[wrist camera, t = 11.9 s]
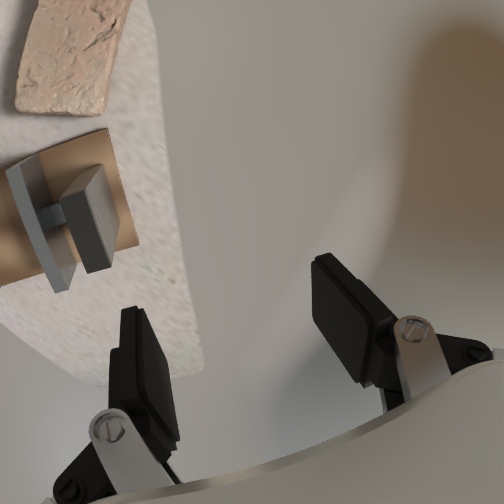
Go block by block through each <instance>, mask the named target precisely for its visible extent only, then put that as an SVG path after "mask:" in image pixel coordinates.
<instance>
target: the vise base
mask: <svg viewBox="0 0 504 504" xmlns="http://www.w3.org/2000/svg"><path fill="white" fill-rule="evenodd" d="M36 154H38V155H39V159H40V162H41V166H42V169H43V172H44V176H45V179H46V182H47V185H48V188H49V191H50V194H51V197H52V200H53V202H55V201H58V199H59V198H60V197H61V196H62V194H63V193H64V192H65V191H66V190H67V188H68V187H69V186H70V185H71V184H72V182H73V181H74V180H75V179H76V178H77V177H78V175H79V174H80V173H81V172H82V171H83V170H85V169H88V168H91V167H94V166H97V165H100V164H103V165H104V169H105V173H106V176H107V180H108V183H109V187H110V190H111V194H112V197H113V200H114V204H115V207H116V210H117V213H118V216H119V220H120V226H119V231H118V235H117V240H116V245H115V250H114V252H116V251H120V250H123V249H127V248H130V247H134V246H137V245H139V239H138V236H137V233H136V230H135V227H134V224H133V220H132V217H131V214H130V210H129V207H128V204H127V200H126V197H125V193H124V190H123V186H122V183H121V179H120V175H119V171H118V168H117V164H116V160H115V156H114V152H113V148H112V144H111V140H110V135H109V131H108V128H105V129H102V130H99V131H96V132H93V133H90V134H87V135H84V136H81V137H78V138H75V139H72V140H70V141H67V142H64V143H61V144H59V145H56V146H54V147H51V148H48V149H46V150H43V151H41V152H38V153H36ZM34 155H35V154H34ZM31 156H33V155H31ZM31 156H29V157H31ZM26 158H28V157H26ZM26 158H24V159H26ZM24 159H22V160H24ZM22 160H20V161H17V162H15V163H13V164H11V165H8V166H6V167H4V168H2V169H0V288H1V286H3V285H7V284H10V283H13V282H16V281H19V280H22V279H25V278H29V277H32V276H35V275H38V274H41V273H45V272H44V270H43V268H42V265H41V263H40V261H39V259H38V257H37V255H36V252H35V250H34V248H33V245H32V243H31V241H30V238H29V236H28V234H27V231H26V229H25V226H24V224H23V221H22V219H21V216H20V213H19V211H18V208H17V205H16V202H15V199H14V197H13V194H12V191H11V188H10V185H9V182H8V178H7V175H6V172H5V171H6V170H8V169H9V168H11V167H13V166H14V165H16V164H17V163H19V162H21V161H22ZM61 225H62V228H63V231H64V233H65V236H66V238H67V241H68V243H69V246H70V248H71V251H72V253H73V255H74V258H75V260H76V262H77V263H78V262H81V261H82V260H81V258H80V255H79V253H78V251H77V248H76V246H75V243H74V241H73V238H72V236H71V233H70V230H69V228H68V225H67V222H66V223H63V224H61Z"/></svg>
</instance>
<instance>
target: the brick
mask: <svg viewBox="0 0 504 504" xmlns="http://www.w3.org/2000/svg"><path fill="white" fill-rule="evenodd" d="M131 1H132V0H39V1H38V7H37V9H36V11H35V12H34V15H33V18H32V21H31V24H30V27H29V30H28V34H27V38H26V42H25V46H24V49H23V53H22V57H21V61H20V66H19V71H18V75H19V77H18V79H17V82H16V96H15V101H14V102H15V108H16V109H17V110H18V111H19V112H21V113H22V114H25V115H37V114H41V115H58V116H62V115H70V116H78V117H97V116H100V115H102V114H103V112H104V110H105V108H106V104H107V99H108V96H109V88H110V82H111V73H112V70H113V65H114V61H115V58H116V55H117V52H118V43H119V39H120V37H121V35H122V31H123V26H124V23H125V20H126V17H127V13H128V10H129V7H130V4H131Z"/></svg>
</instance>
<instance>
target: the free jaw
mask: <svg viewBox="0 0 504 504" xmlns="http://www.w3.org/2000/svg"><path fill="white" fill-rule="evenodd" d="M5 172H6V175H7V178H8V182H9V185H10V188H11V191H12V194H13V197H14V199H15V202H16V205H17V208H18V211H19V213H20V216H21V219H22V221H23V224H24V226H25V229H26V231H27V234H28V236H29V238H30V241H31V243H32V245H33V248H34V250H35V252H36V255H37V257H38V259H39V261H40V263H41V265H42V268H43V270H44V272H45V274H46V276H47V278H48V280H49V282H50V284H51V286H52V288H53V290H54V292H55V293H59V292H62V291H66V290H68V289H69V286H70V283H71V280H72V277H73V274H74V272H75V269H76V266H77V262H76V260H75V258H74V255H73V253H72V251H71V248H70V246H69V243H68V241H67V238H66V236H65V233H64V231H63V228H62V225H61V224H63V223H66V222H67V225H68V228H69V230H70V233H71V236H72V238H73V241H74V243H75V246H76V248H77V251H78V253H79V255H80V258H81V260H82V263H83V265H84V267H85V270H86V272H87V274H89V273H92V272H96V271H99V270H103V269H107V268H110V267H111V266H112V261H113V255H114V250H115V245H116V240H117V235H118V231H119V226H120V220H119V216H118V213H117V210H116V207H115V204H114V200H113V197H112V194H111V190H110V187H109V183H108V180H107V176H106V173H105V169H104V165H103V164H100V165H97V166H94V167H91V168H88V169H85V170H83V171H82V172H81V173H80V174H79V175H78V177H77V178H76V179H75V180H74V181H73V182H72V184H71V185H70V186H69V187H68V188H67V190H66V191H65V192H64V193H63V194H62V196H61V197H60V198H59V199H58V201H55V202H53V200H52V197H51V194H50V191H49V188H48V185H47V182H46V179H45V176H44V172H43V169H42V166H41V162H40V159H39V155H38V154H35V155H33V156H31V157H28V158H26V159H24V160H22V161H21V162H19V163H17V164H16V165H14V166H13V167H11V168H9V169H8V170H6V171H5Z"/></svg>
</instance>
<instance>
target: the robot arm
mask: <svg viewBox="0 0 504 504" xmlns="http://www.w3.org/2000/svg"><path fill="white" fill-rule="evenodd" d="M311 278H312V316H313V320H314V322H315V324H316V325H317V327H318V328H319V330H320V331H321V333H322V334H323V336H324V337H325V339H326V340H327V342H328V343H329V345H330V346H331V347H332V349H333V351H334V352H335V353H336V355H337V356H338V358H339V359H340V361H341V362H342V364H343V365H344V367H345V368H346V370H347V371H348V373H349V374H350V376H351V377H352V379H353V380H354V381H355V382H356V383H359V382H360V384H361V385H362V386H363V388H366V387H369V386H371V385H372V384H374V385H375V387H378V388H379V391H380V396H381V402H382V408H383V415H381V416H379V417H377V418H375V419H373V420H371V421H369V422H367V423H365V424H363V425H360V426H358V427H356V428H354V429H352V430H350V431H347V432H345V433H343V434H341V435H338V436H336V437H334V438H331V439H329V440H326V441H325V442H322V443H319V444H317V445H314V446H312V447H309V448H307V449H304V450H301V451H298V452H295V453H293V454H290V455H287V456H284V457H281V458H278V459H275V460H272V461H269V462H266V463H263V464H259V465H256V466H253V467H249V468H246V469H243V470H239V471H235V472H231V473H228V474H224V475H219V476H215V477H211V478H206V479H202V480H197V481H192V482H187V483H183V482H182V480H181V479H180V478H179V476H178V475H177V474H176V472H175V471H174V469H173V468H172V467H171V465H170V464H169V462H168V461H167V460H168V459H169V457H170V456H171V451H174V450H177V447H176V442H177V441H180V435H179V430H178V424H177V420H176V414H175V407H174V401H173V395H172V389H171V382H170V375H169V368H168V363H167V360H166V357H165V355H164V353H163V351H162V349H161V347H160V344H159V342H158V340H157V338H156V336H155V333H154V331H153V329H152V327H151V325H150V322H149V320H148V318H147V315H146V313H145V311H144V309H143V308H141V309H138V307H137V306H133V307H129V308H125V309H122V310H121V322H120V342H119V347H118V348H114V349H112V350H111V352H110V366H109V404H108V409H106V410H103V411H101V412H100V413H98V414H97V415H96V416H95V417H94V418H93V419H92V421H91V423H90V426H89V435H90V439H91V442H90V443H89V444H88V446H87V447H86V448H85V449H84V450H83V451H82V452H81V453H80V454H79V455H78V456H77V457H76V459H75V460H74V461H73V462H72V463H71V464H70V465H69V466H68V467H67V468H66V469H65V470H64V472H63V473H62V474H61V475H60V476H59V477H58V478H57V480H56V481H55V483H54V487H53V496H52V498H51V499H50V498H48V497H47V498H46V499H45V500H44V501H43V502H42V503H41V504H504V349H498V348H493V350H492V351H490V349H489V348H488V347H487V346H486V345H485V344H484V343H482V342H480V341H477V340H472V339H465V338H460V337H453V336H448V335H441V334H436V333H435V331H434V329H433V327H432V326H431V324H430V323H429V322H428V321H427V320H426V319H424V318H422V317H418V316H405V317H402V318H400V319H398V318H397V317H396V316H395V315H394V314H393V313H392V312H391V311H390V310H389V309H388V308H387V307H386V305H385V304H384V303H383V302H382V301H381V300H380V299H379V298H378V297H377V296H376V295H375V294H374V293H373V292H372V291H371V290H370V289H369V288H368V287H367V286H366V285H365V284H364V283H363V282H362V281H361V280H359V279H356V278H355V277H354V276H353V274H352V273H351V272H350V271H348V270H347V268H346V267H344V266H343V265H342V263H340V261H339V260H338V259H337V258H336V257H334V256H333V255H332V254H331V253H326V254H323V255H319V256H316V257H315V261H312V263H311Z"/></svg>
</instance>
